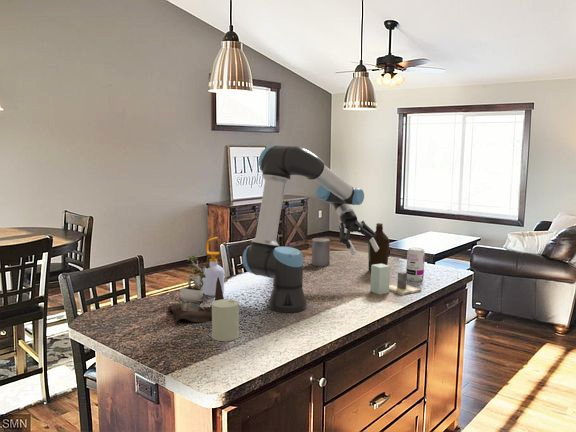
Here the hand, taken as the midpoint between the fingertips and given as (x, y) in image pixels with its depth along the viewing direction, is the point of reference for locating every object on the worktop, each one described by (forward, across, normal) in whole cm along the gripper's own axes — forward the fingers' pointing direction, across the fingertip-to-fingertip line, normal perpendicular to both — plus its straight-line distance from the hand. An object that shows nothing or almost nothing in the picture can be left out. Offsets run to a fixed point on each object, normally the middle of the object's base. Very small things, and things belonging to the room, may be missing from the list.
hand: (365, 251), depth 238 cm
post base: (+21, -10, -2) cm, 23 cm away
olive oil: (-1, -23, -24) cm, 33 cm away
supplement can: (+13, -29, -10) cm, 34 cm away
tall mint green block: (+19, 0, -4) cm, 19 cm away
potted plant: (+12, +82, -10) cm, 83 cm away
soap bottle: (-4, +66, -26) cm, 71 cm away
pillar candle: (-21, -6, -44) cm, 49 cm away
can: (+30, +82, +9) cm, 88 cm away
